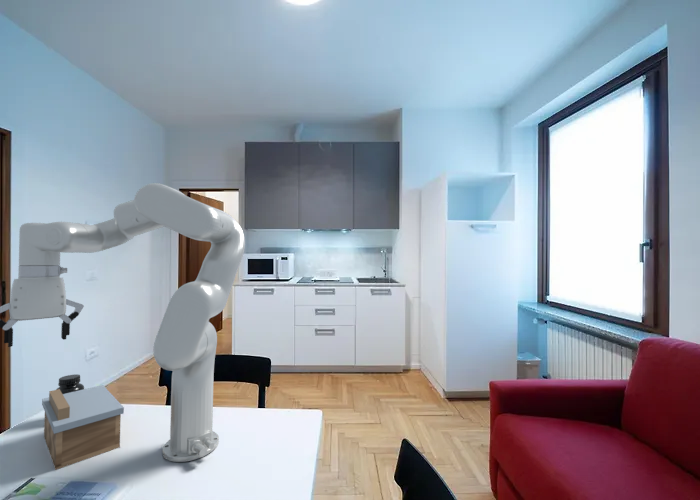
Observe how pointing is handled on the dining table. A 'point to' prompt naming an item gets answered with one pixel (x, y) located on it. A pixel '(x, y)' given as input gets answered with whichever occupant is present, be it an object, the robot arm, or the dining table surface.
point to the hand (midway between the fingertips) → (38, 342)
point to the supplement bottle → (70, 384)
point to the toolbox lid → (80, 407)
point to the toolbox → (82, 441)
